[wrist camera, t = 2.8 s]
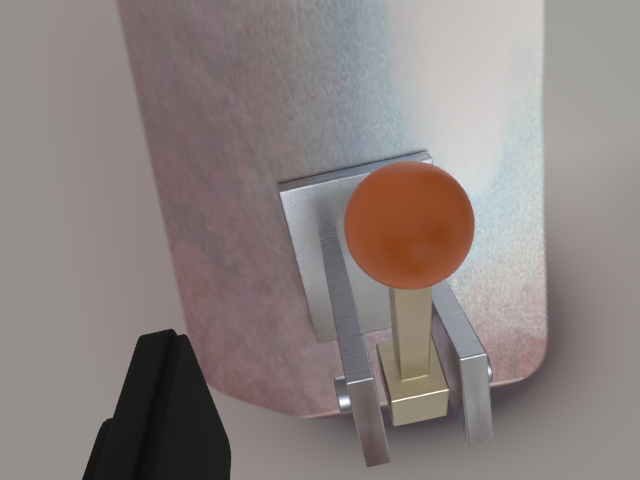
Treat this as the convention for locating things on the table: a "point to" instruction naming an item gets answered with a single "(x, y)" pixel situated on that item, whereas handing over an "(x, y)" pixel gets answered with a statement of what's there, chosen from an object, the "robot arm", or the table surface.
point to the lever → (410, 272)
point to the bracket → (375, 311)
